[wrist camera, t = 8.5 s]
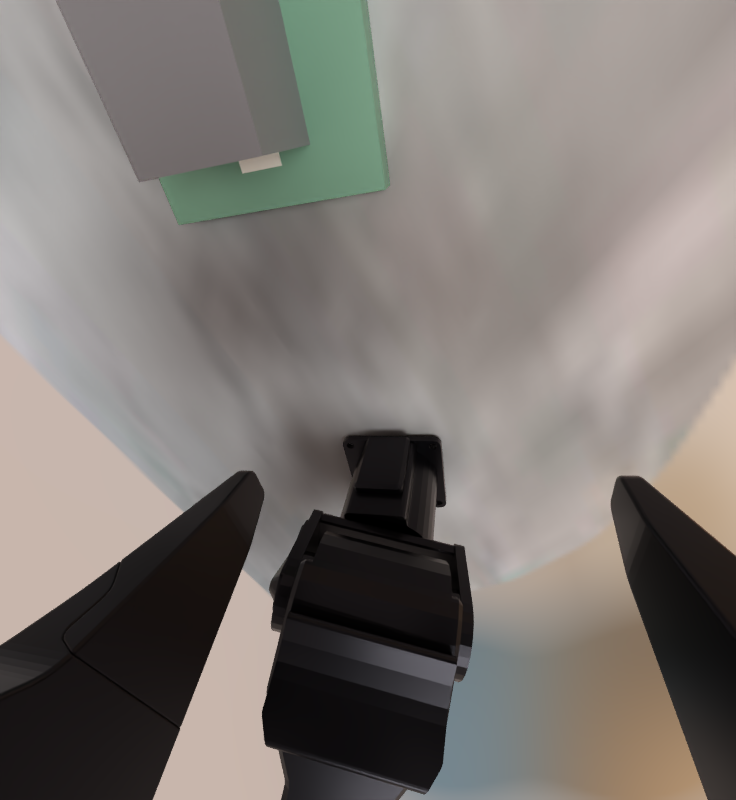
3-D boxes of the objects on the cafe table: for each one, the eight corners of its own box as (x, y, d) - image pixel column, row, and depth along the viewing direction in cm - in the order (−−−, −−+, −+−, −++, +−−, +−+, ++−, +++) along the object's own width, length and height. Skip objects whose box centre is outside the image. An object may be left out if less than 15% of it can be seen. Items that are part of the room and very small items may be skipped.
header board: (389, 184, 16) (375, 200, 14) (192, 219, 19) (148, 237, 16) (330, -289, 10) (282, -432, 7) (47, -138, 13) (-64, -203, 10)
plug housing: (310, 144, 15) (258, 156, 11) (209, 165, 16) (132, 183, 12) (246, -146, 11) (132, -278, 7) (119, -88, 12) (-36, -176, 8)
